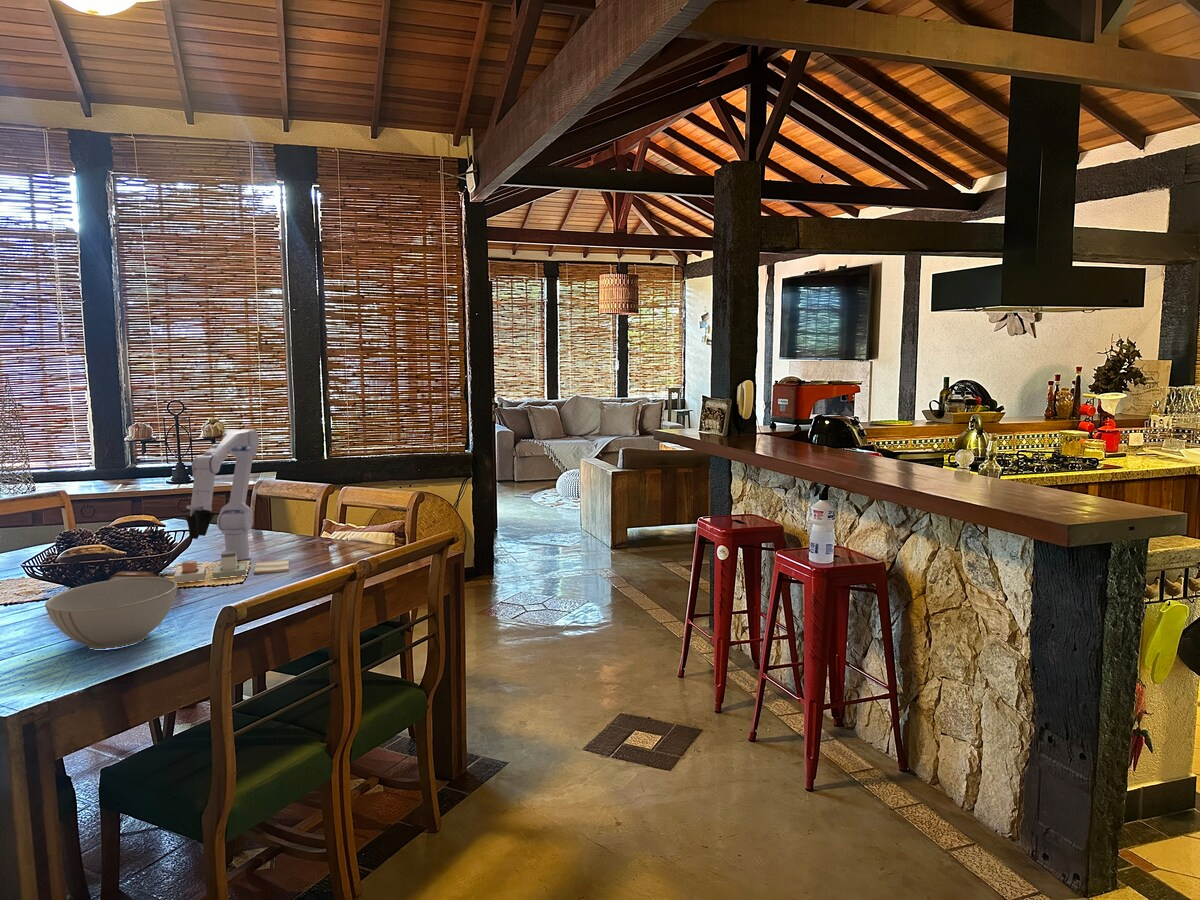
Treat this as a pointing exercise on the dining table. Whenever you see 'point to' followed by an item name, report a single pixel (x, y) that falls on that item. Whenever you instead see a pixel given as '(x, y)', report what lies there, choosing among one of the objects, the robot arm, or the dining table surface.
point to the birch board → (271, 567)
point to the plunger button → (189, 567)
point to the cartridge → (229, 560)
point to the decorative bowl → (112, 610)
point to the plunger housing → (190, 575)
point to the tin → (131, 575)
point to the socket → (230, 571)
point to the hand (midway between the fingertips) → (197, 537)
